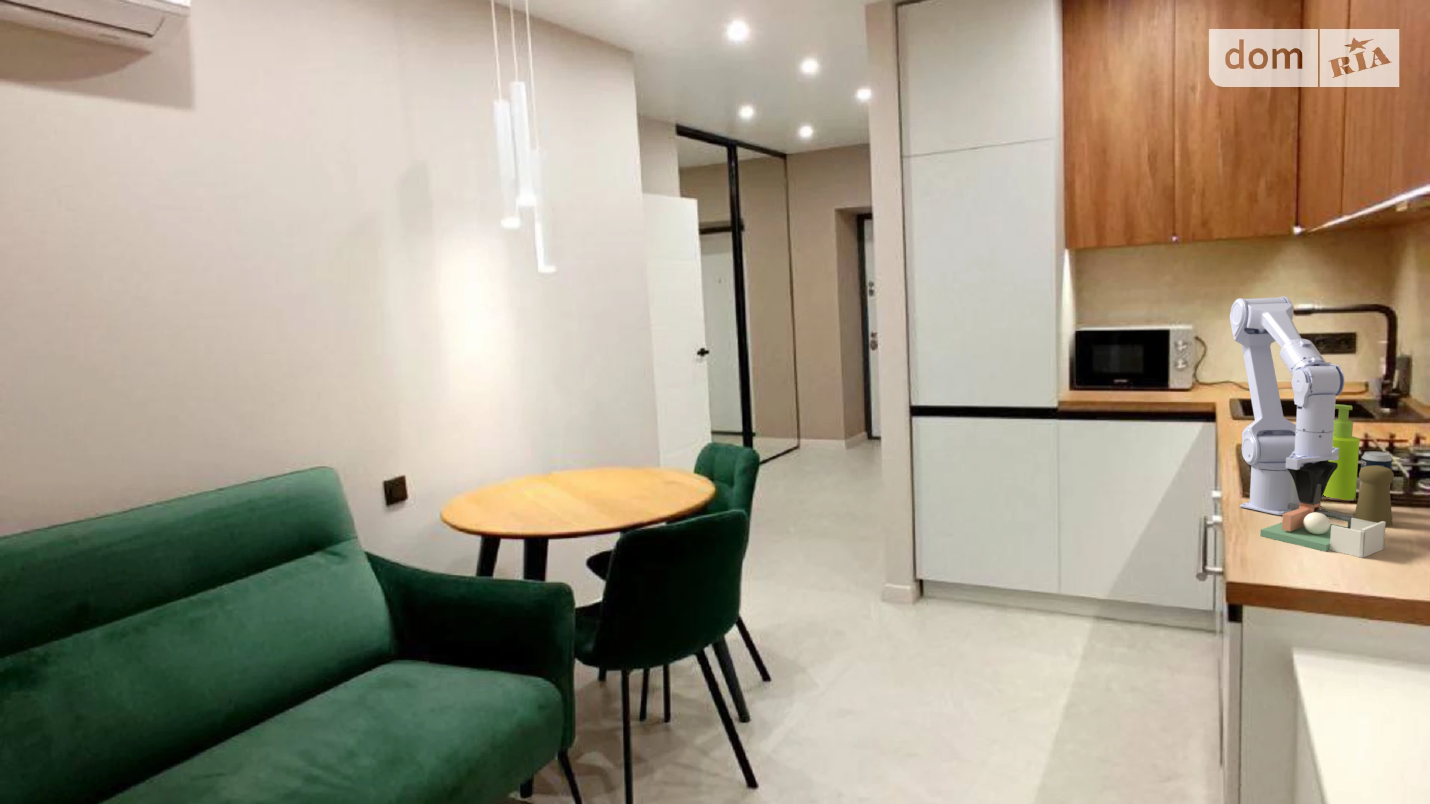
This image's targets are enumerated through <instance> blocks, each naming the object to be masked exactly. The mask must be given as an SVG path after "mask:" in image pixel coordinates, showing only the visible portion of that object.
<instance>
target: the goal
mask: <svg viewBox="0 0 1430 804" xmlns="http://www.w3.org/2000/svg"><path fill="white" fill-rule="evenodd" d="M1385 524H1386V522H1384V521H1381V522H1379V523H1376V522H1371V521H1366V520H1361V519H1356V518H1351V529H1348V528H1344V527H1345V526H1344V527H1339V526H1340V525H1339V526H1334V525H1332V526H1331V536H1330V550H1329V551H1331V550H1332V552H1336V553H1339V552H1342V553H1341V554H1344V553H1345V554H1344V555H1348V554H1349V556H1352V555H1354V556H1353V557H1357V558H1362V559H1363V558H1365V557H1368V556H1370V555H1373V554H1375V553H1378V552H1380V551H1382V550H1384V549H1385V548H1384V547H1385V535H1386V527H1385Z"/></svg>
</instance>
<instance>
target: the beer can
mask: <svg viewBox="0 0 1430 804" xmlns="http://www.w3.org/2000/svg"><path fill="white" fill-rule="evenodd" d="M1360 461H1361V462H1360V470H1361V469H1362V468H1363V467H1365V466H1382V467H1386V468H1389V469H1391V470H1392V461H1393V457H1392V456H1391V454H1390V453H1388V452H1382V451H1375V450H1374V451H1372V450H1370V451H1369V450H1368V451H1364V453H1363V455H1362V456H1361V460H1360ZM1358 486H1359V488H1358V495H1359V494H1360V490H1361V486H1362V481H1361V480H1360V479H1359V485H1358ZM1389 488H1391V484H1390V485H1389Z"/></svg>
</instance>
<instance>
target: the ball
mask: <svg viewBox="0 0 1430 804" xmlns="http://www.w3.org/2000/svg"><path fill="white" fill-rule="evenodd" d="M1303 524H1304V527H1305V529H1306V530H1307V531H1308V532H1310V533H1312V534H1323V533H1325V532H1327V531H1328V530H1329V528H1330V524H1331V521H1330V519H1329V517H1327V516H1325V515H1324V514H1322V513H1318V512H1313V513H1310V514H1308V515H1307V516H1306V517H1305V518H1304V521H1303Z"/></svg>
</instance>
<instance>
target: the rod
mask: <svg viewBox="0 0 1430 804" xmlns="http://www.w3.org/2000/svg"><path fill="white" fill-rule="evenodd" d="M1288 509H1290V510H1291V511H1293V510H1296V509H1299V505H1297V504H1292V503H1289V504H1288ZM1314 512H1318V513H1322V514H1324V515H1325V516H1327V517H1328V519H1329V518H1331V519H1334V520H1339V521H1345V522H1347V527H1348V529H1351V518H1356V519H1357V517H1356V516H1354V515H1351V514H1346V513H1343V512H1342V513H1341V512H1336V511H1331V510H1326V509H1321V508H1320V509H1317V508H1314Z"/></svg>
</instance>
